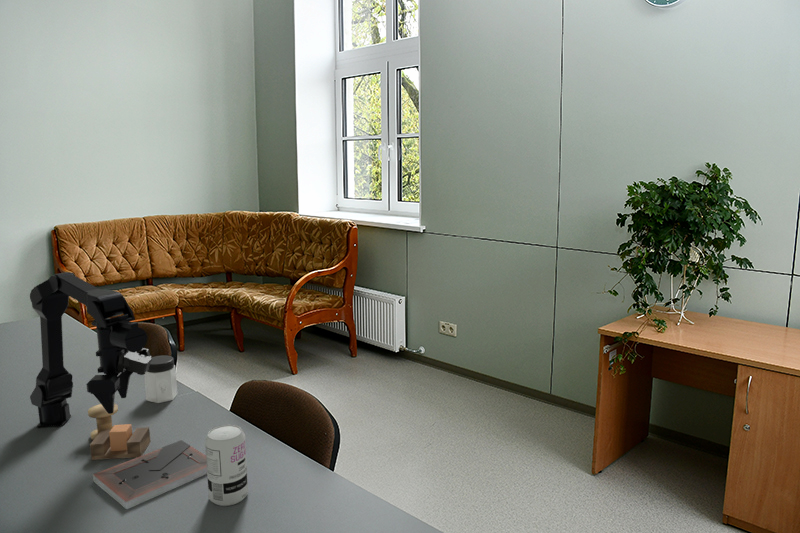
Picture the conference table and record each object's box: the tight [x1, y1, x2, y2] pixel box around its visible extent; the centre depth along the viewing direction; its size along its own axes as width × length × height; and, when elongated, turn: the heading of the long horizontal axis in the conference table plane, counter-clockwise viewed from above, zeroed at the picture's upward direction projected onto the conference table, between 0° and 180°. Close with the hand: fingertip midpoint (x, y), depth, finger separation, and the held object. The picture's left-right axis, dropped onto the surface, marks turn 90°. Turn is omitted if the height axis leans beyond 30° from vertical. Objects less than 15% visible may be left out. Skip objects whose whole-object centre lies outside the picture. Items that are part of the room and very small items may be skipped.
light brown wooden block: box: [109, 423, 133, 451], centre depth 150 cm, size 4×4×5 cm
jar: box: [143, 355, 178, 404], centre depth 182 cm, size 9×8×12 cm
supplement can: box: [204, 424, 249, 507], centre depth 130 cm, size 8×8×15 cm
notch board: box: [89, 426, 151, 461], centre depth 151 cm, size 12×8×4 cm
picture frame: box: [92, 439, 207, 510], centre depth 140 cm, size 16×2×22 cm
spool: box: [87, 403, 119, 441], centre depth 158 cm, size 7×7×8 cm
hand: (117, 405), depth 149 cm, fingers open, 9 cm apart
